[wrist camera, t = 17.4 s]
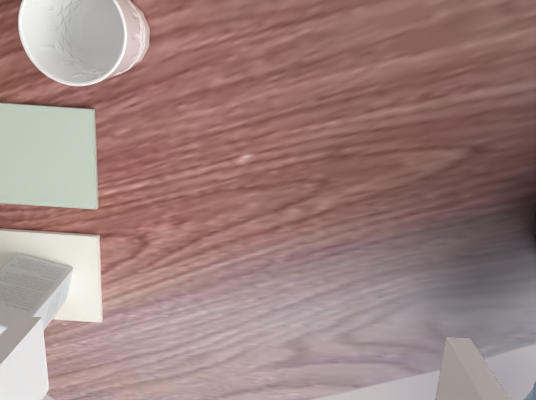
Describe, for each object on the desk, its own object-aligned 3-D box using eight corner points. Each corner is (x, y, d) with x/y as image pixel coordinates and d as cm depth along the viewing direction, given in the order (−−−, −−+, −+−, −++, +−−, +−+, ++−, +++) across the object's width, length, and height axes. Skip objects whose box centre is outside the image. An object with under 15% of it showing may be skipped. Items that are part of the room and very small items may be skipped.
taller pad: (99, 234, 51) (97, 236, 51) (102, 319, 54) (100, 322, 54) (-17, 227, 51) (-20, 229, 51) (-8, 312, 54) (-11, 315, 54)
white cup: (107, 94, 47) (65, 106, 37) (53, 20, 45) (-6, 13, 36) (173, 47, 46) (148, 47, 36) (121, -31, 44) (79, -53, 34)
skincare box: (12, 286, 52) (-60, 353, 41) (18, 251, 51) (-55, 310, 40) (68, 301, 53) (13, 372, 42) (76, 267, 52) (20, 329, 40)
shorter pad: (94, 108, 47) (92, 109, 47) (98, 207, 50) (96, 209, 50) (-31, 100, 47) (-35, 100, 47) (-20, 199, 50) (-24, 201, 50)
